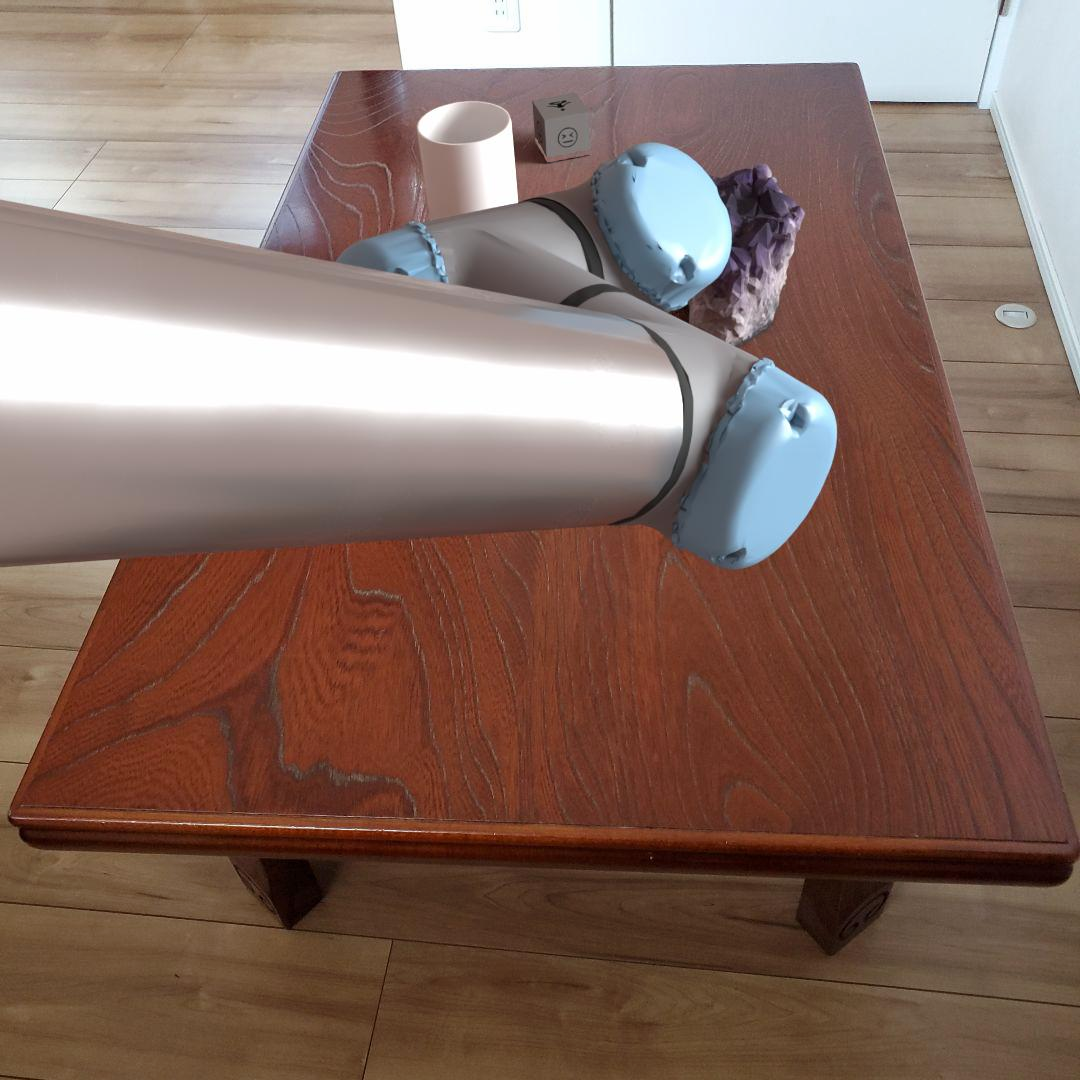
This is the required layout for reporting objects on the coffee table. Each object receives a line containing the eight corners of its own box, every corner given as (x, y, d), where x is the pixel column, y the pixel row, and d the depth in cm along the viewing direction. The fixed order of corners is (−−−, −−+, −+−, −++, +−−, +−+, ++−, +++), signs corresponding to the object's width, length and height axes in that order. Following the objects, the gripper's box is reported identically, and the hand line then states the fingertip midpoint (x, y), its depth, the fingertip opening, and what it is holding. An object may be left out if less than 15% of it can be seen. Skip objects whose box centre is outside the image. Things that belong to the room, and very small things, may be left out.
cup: (541, 277, 108) (530, 117, 97) (481, 315, 104) (462, 154, 93) (482, 248, 112) (465, 92, 101) (422, 285, 108) (396, 126, 97)
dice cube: (577, 135, 128) (575, 92, 124) (590, 155, 124) (588, 111, 121) (535, 143, 127) (532, 100, 124) (547, 163, 124) (544, 119, 120)
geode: (802, 357, 97) (798, 259, 90) (670, 363, 100) (655, 269, 93) (808, 226, 110) (805, 131, 103) (691, 234, 113) (680, 143, 106)
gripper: (424, 517, 58) (273, 600, 75) (653, 278, 72) (483, 393, 89) (325, 406, 56) (194, 516, 73) (579, 183, 70) (421, 319, 87)
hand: (352, 449), depth 81 cm, fingers open, 13 cm apart
